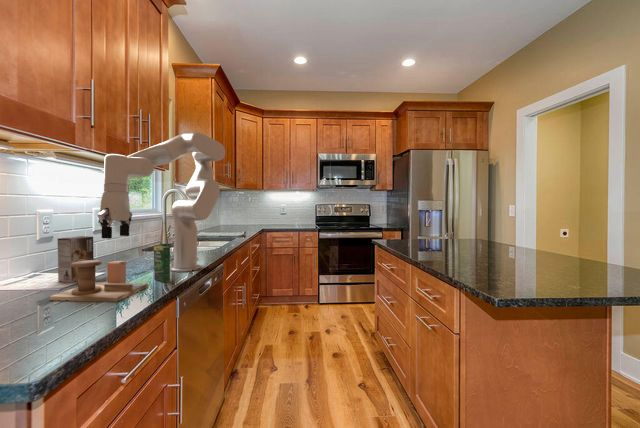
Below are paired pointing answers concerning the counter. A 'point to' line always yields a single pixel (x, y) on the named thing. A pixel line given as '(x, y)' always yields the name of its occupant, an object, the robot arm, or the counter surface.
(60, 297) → the board
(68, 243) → the coffee box
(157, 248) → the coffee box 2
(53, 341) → the counter surface
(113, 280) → the tab block
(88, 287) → the bobbin
